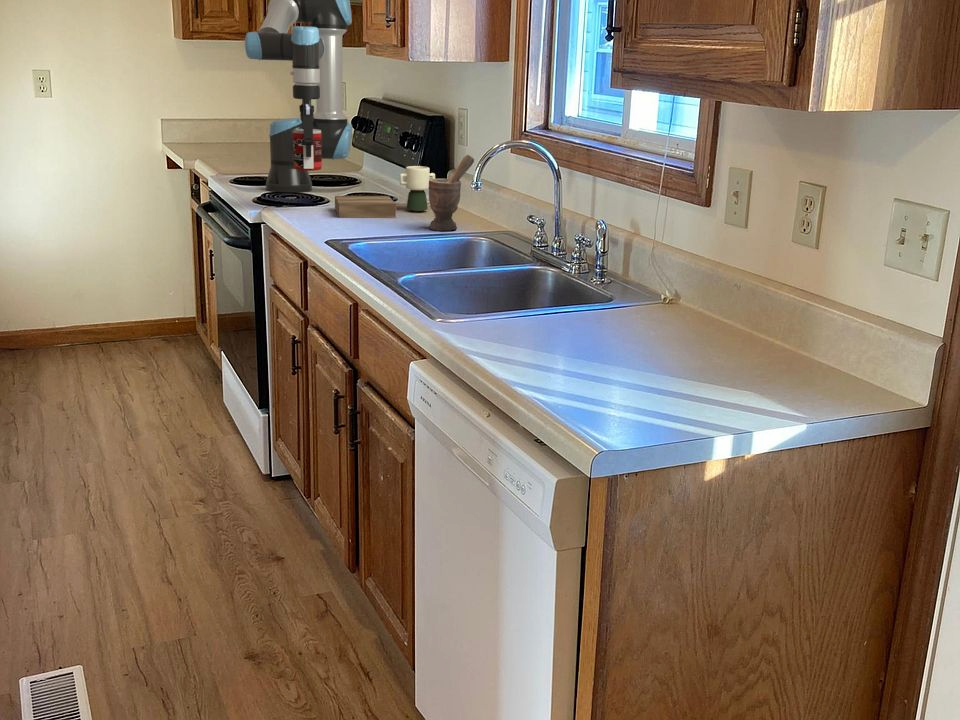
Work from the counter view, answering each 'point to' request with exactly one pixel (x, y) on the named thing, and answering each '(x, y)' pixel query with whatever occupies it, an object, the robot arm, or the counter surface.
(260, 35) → the robot arm
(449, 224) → the mortar and pestle
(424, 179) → the character mug
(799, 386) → the counter surface
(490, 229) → the counter surface
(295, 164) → the canned food
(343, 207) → the walnut base
